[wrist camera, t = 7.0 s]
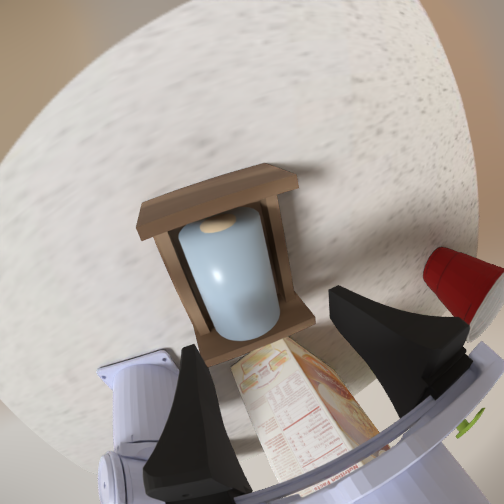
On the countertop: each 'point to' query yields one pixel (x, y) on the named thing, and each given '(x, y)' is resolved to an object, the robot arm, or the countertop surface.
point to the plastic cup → (466, 287)
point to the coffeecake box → (301, 411)
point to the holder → (210, 203)
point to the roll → (233, 272)
